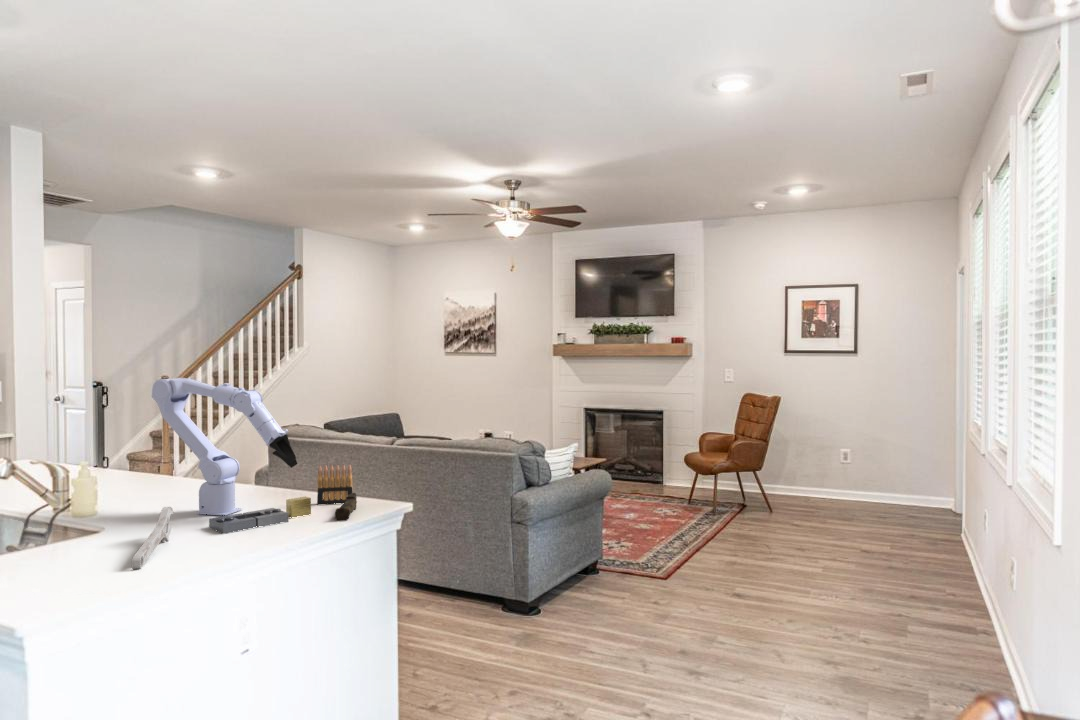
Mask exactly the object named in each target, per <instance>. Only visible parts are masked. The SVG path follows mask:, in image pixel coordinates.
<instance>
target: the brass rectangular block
mask: <svg viewBox="0 0 1080 720" xmlns="http://www.w3.org/2000/svg"><path fill="white" fill-rule="evenodd" d="M285 501H286V502H285V503H286V505H285V507H286V508H285V509H286V511H285V512H287V513H288V517H291V518H292V517H297V516H303V515H309V514H311V515H312V498H311V497H308V496H300V497H295V498H289V499H285ZM309 516H310V515H309ZM303 517H304V516H303ZM291 518H290V519H291ZM292 519H293V518H292Z"/></svg>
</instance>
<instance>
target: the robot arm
mask: <svg viewBox="0 0 1080 720" xmlns="http://www.w3.org/2000/svg"><path fill="white" fill-rule="evenodd" d="M191 394H194V395H197V396H204V397H209V398H212V399H213V401H214V403H216V404H219V405H222V406H226V407H231V408H234V409H235V410H236V411H237V412H240V413H242V414H244V416H245V417H246V418H247V420H248V421H249V422H250V423H251V425H252V427H253V428H254V429H255V430H256V432H257V433H258V434H259V436H260V437H261V438H262V440H263V441H264V443H265V445H266V446H267V447H269V448H271V449H274V451H272V455H274V456H276V457H278V458H279V459H280V460H282V461H283V462H284V463H285V464H286V465H287V466H289V467H290V468H291V469H292V468H294V467H295V466H297V465H298V462H297V457H296V454H295V451H294V450H293V447H291V444H290V440H289V435H288V433H289V430H288V428H286V429H285V430H283V429H282V428H281V426H280V425H279V423H278V422H277V421H276V420H275V418H274V417H273V415H272V414H271V413H270V411H269V410H268V409H267V408H266V406H265V405H264V403H263V396H262V394H261V393H260V391H257V390H255V389H250V390H246V389H245V387H243V386H242V387H239V388H238V387H236V386H232V385H231V383H229V382H224V383H223V384H218V385H217V386H215V385H212V384H209V383H205V382H202V381H200V380H199V381H198V380H196V379H192V378H185V377H176V378H159V379H156V380H155V382H153V384H152V389H151V398H153V400H154V401H155V403H156V404H157V406H158V409H159V411H160V414H161V417H162V419H164V421H165V422H166V423H167V424H168V425H169V426H170V428H171V429H172V430H173V431H174V433H176V435H177V436H178V437H179V438H180V439H181V441H182V442H183V443H184V444H185V445H186V446H187V447H188V448H189V449H190V450H191V451H192V453H193V454H194V456H196V457H197V459H198V460H199V462H198V465H197V466H198V467H197V468H198V469H199V470H200V471H201V474H202V477H203V479H204V481H205V482H203V483H202V484H201V485H200V486H199V489H198V511H197V512H196V514H197V515H206V514H207V516H208V515H209V516H222V515H223V516H224V515H225V516H228V515H232V514H234V513H236V512H239V511H242V509H243V508H241V507H236V482H235V481H236V478H237V476H238V474H239V473H240V470H241V465H240V462H239V461H238V460H237V459H236V458H235V457H233V456H230V455H229V454H228V452H226V451H223V450H222V449H218V448H217V447H216V445H214V444H213V443H212V442H211V441H210V439H209V438H208V437H207V436H206V435H205V434H204V432H203V431H201V429H200V428H199V427H198V426H197V424H196V423H195V422H194V421H193V420H192V419H191V418H190V417H189V415H188V414H187V413H186V412H185V411H184V410H185V409H184V408H185V407H186V405H187V403H188V399H189V398H190V395H191Z"/></svg>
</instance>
